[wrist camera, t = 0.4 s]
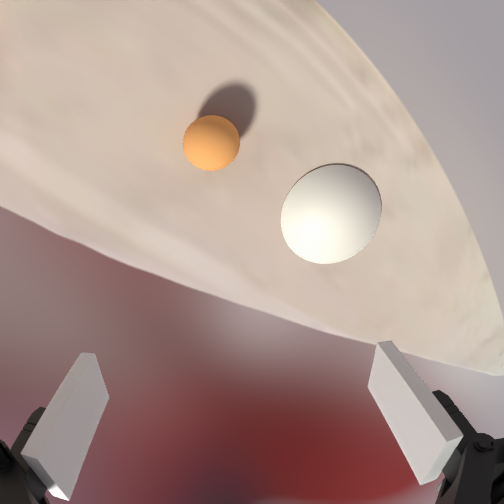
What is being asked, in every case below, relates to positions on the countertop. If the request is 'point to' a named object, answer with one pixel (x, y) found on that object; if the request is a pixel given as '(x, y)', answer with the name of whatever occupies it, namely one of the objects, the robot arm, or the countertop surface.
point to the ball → (211, 142)
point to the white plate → (330, 214)
